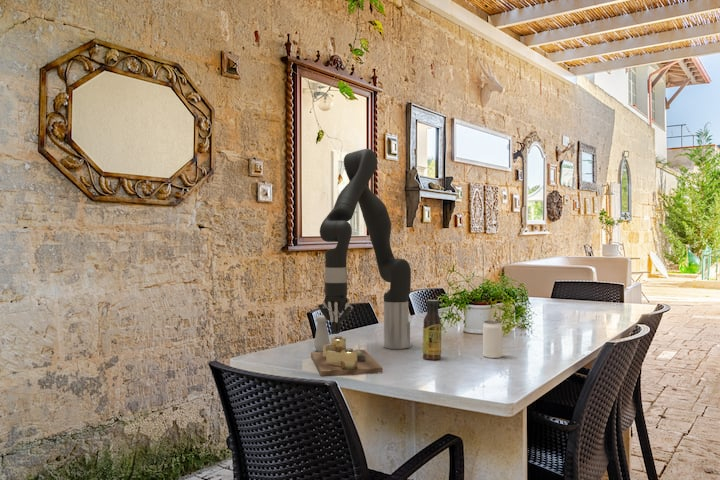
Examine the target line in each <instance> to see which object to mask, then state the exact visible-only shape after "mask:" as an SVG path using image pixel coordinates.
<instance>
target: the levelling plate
mask: <svg viewBox="0 0 720 480" xmlns="http://www.w3.org/2000/svg"><path fill="white" fill-rule="evenodd" d="M355 350H356V351H357V368H356V369H342V368H341V365H340V364H334V363H328V362H326V357H325V356H323V352H318V351H311V352H310V357H311V360H312V361H313V363H314V365H315V367H316V369H317V372H318V373H319V376H320V377H331V376H332V377H333V376H346V375H345V374H352V375H357V374H356V373H370V374H379V373H378V372H383V367H382V365H380V364H379V363H378V362H377V361H376V360H375V358H373V357H372V355H370V353H368V352H367V350H365V349H358V348H356V349H355Z"/></svg>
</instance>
